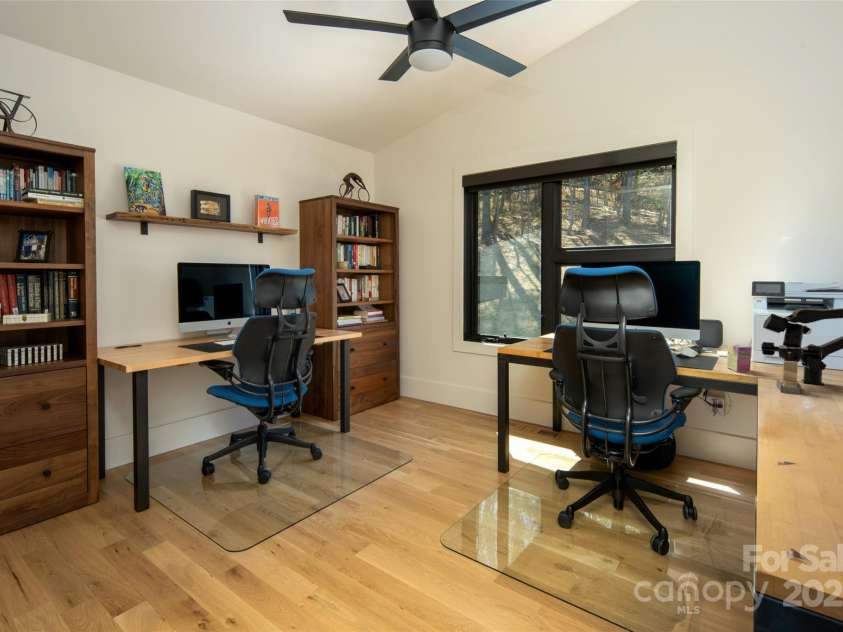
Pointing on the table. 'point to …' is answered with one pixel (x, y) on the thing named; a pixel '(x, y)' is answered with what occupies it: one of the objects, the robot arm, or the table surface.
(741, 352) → the box
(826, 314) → the robot arm
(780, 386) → the trap lane
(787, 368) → the oak block
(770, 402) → the table surface
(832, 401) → the table surface
